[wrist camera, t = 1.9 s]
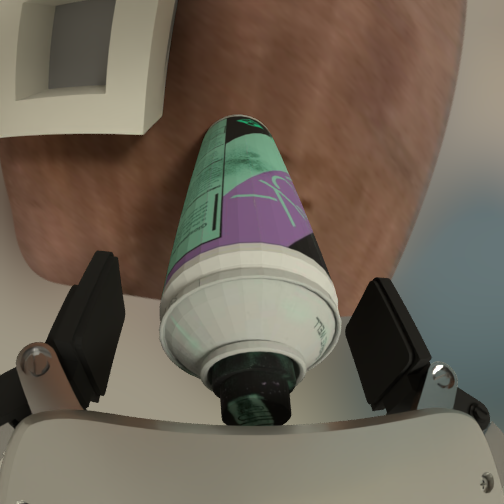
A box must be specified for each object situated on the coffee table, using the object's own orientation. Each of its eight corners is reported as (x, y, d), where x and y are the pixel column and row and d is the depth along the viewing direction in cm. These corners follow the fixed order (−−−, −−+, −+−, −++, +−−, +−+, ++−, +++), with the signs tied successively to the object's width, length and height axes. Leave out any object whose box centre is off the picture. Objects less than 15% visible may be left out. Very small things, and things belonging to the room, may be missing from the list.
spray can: (241, 192, 25) (262, 457, 9) (187, 153, 23) (110, 419, 7) (288, 145, 23) (404, 395, 7) (233, 99, 20) (244, 322, 4)
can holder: (42, -14, 12) (2, -20, 7) (185, -33, 14) (171, -56, 9) (31, 117, 19) (-7, 138, 14) (162, 116, 21) (143, 134, 16)
